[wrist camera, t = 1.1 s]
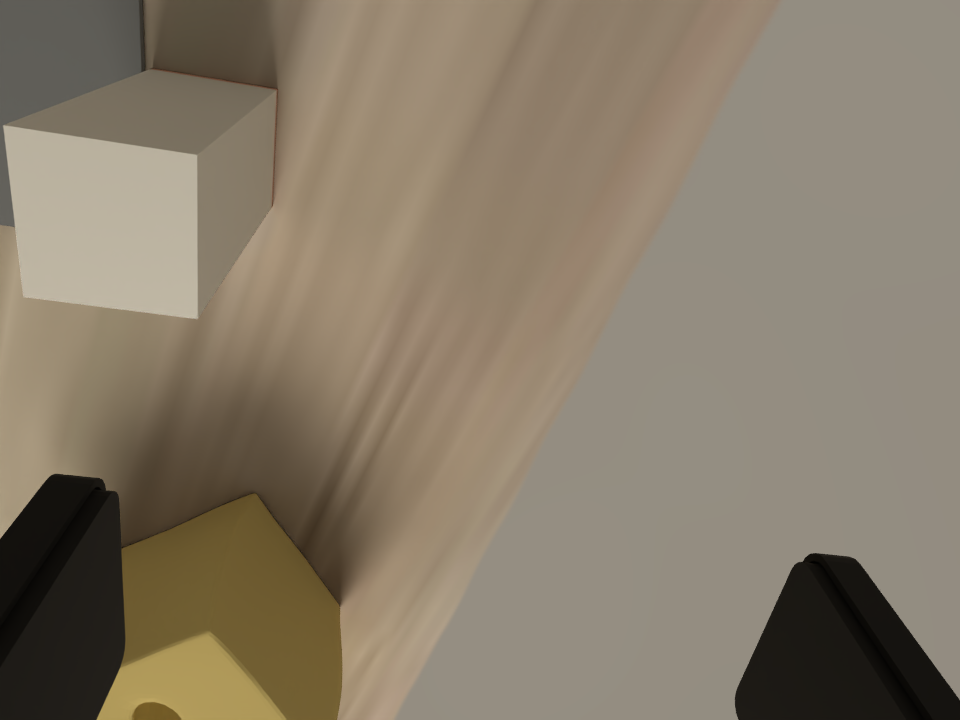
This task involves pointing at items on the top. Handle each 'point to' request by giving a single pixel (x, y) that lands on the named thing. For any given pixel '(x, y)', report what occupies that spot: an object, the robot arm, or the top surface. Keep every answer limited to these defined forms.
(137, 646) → the cheese
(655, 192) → the top surface
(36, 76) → the mat
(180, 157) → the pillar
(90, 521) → the robot arm
